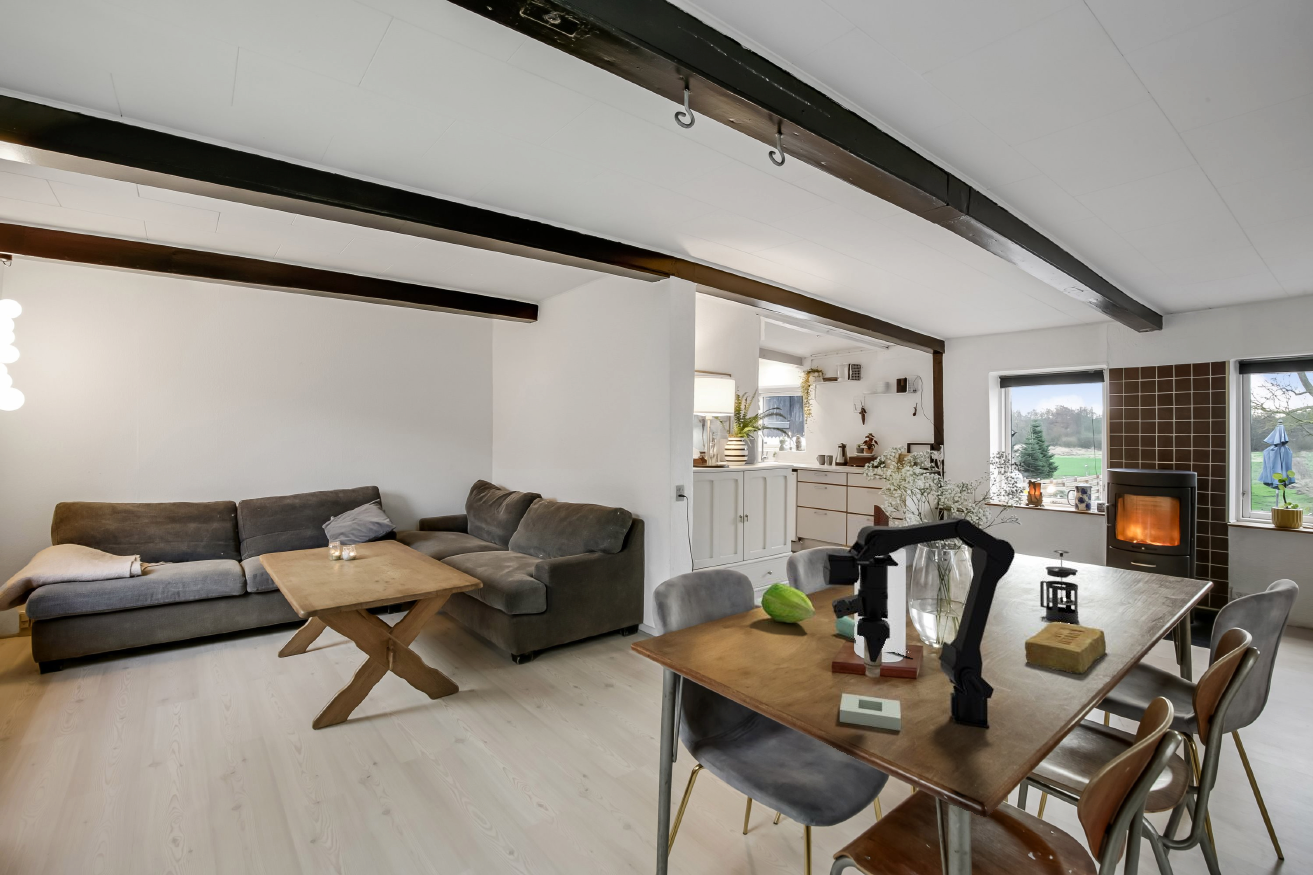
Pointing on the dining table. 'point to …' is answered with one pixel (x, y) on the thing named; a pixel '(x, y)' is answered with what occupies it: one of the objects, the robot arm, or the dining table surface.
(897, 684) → the dining table surface
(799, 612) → the lettuce
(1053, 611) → the french press
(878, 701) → the board
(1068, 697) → the dining table surface
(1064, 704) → the dining table surface
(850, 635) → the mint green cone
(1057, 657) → the brick
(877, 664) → the peg
